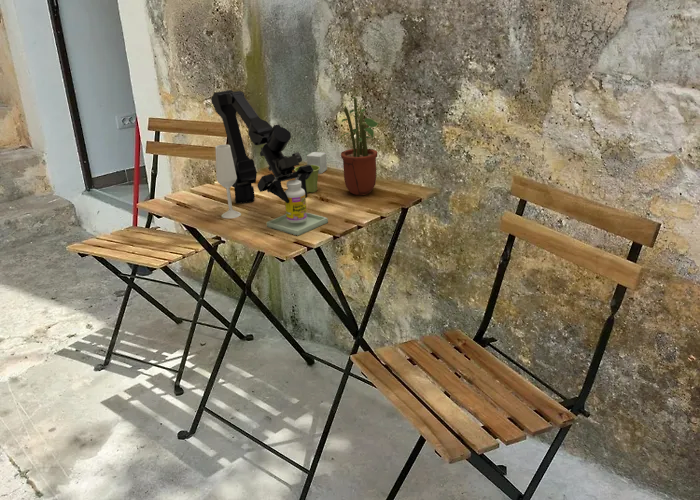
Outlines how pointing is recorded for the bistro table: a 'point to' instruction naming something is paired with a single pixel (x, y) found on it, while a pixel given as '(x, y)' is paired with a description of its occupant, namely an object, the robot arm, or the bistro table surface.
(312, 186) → the plant pot
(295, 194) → the supplement bottle
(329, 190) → the bistro table surface
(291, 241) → the bistro table surface
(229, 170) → the champagne flute
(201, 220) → the bistro table surface
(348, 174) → the potted plant
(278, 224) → the tray
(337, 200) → the bistro table surface
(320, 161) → the product box
